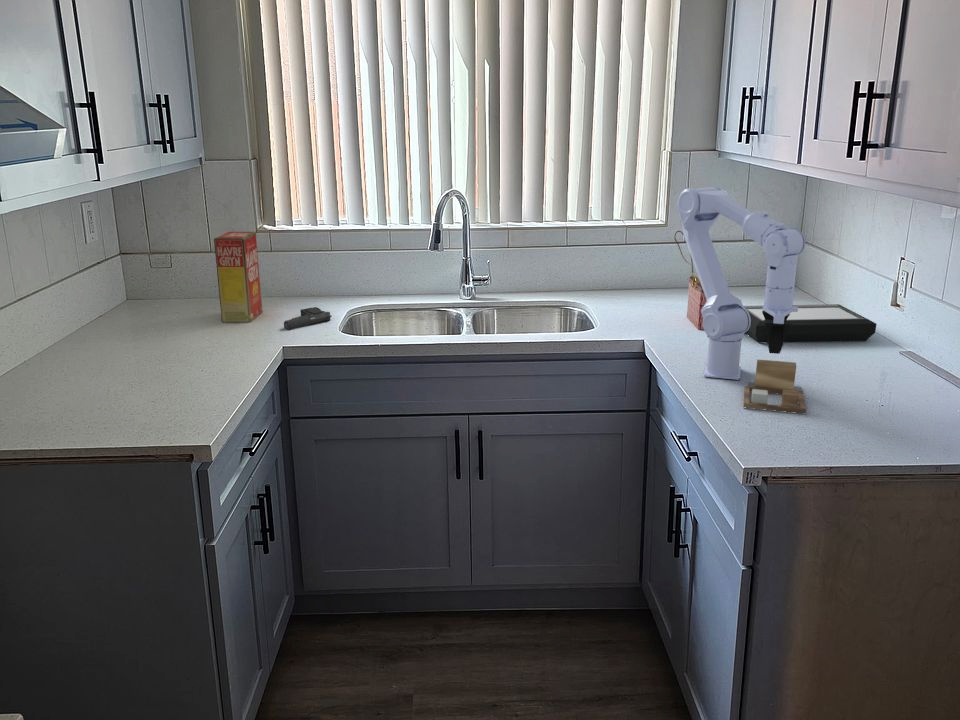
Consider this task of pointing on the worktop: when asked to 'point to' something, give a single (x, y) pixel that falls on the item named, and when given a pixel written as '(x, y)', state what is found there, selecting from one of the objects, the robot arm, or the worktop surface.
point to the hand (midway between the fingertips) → (773, 348)
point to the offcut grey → (759, 396)
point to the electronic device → (816, 324)
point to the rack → (773, 407)
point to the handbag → (694, 298)
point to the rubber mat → (794, 386)
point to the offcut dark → (790, 398)
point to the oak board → (775, 374)
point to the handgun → (307, 318)
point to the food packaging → (238, 276)
